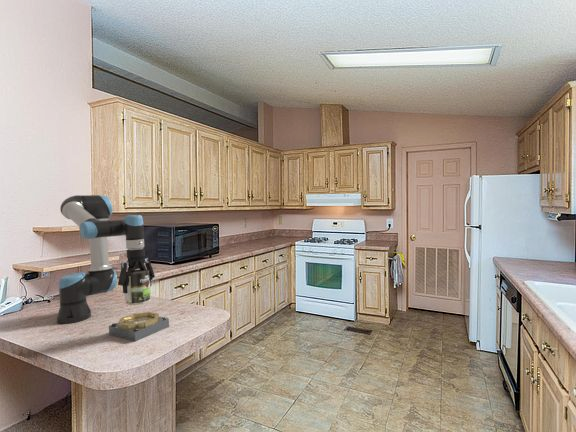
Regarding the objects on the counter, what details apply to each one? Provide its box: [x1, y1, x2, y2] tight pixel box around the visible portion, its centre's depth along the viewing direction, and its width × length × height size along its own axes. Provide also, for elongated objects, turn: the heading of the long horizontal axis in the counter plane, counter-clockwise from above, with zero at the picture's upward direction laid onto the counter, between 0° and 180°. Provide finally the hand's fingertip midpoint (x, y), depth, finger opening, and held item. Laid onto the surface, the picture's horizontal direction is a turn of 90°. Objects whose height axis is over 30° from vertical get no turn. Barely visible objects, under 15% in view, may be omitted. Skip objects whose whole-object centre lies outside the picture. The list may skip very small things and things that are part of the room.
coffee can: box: [125, 268, 151, 306], centre depth 149 cm, size 10×10×14 cm
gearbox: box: [108, 311, 170, 342], centre depth 150 cm, size 18×18×6 cm
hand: (138, 296), depth 149 cm, fingers closed on coffee can, 10 cm apart
